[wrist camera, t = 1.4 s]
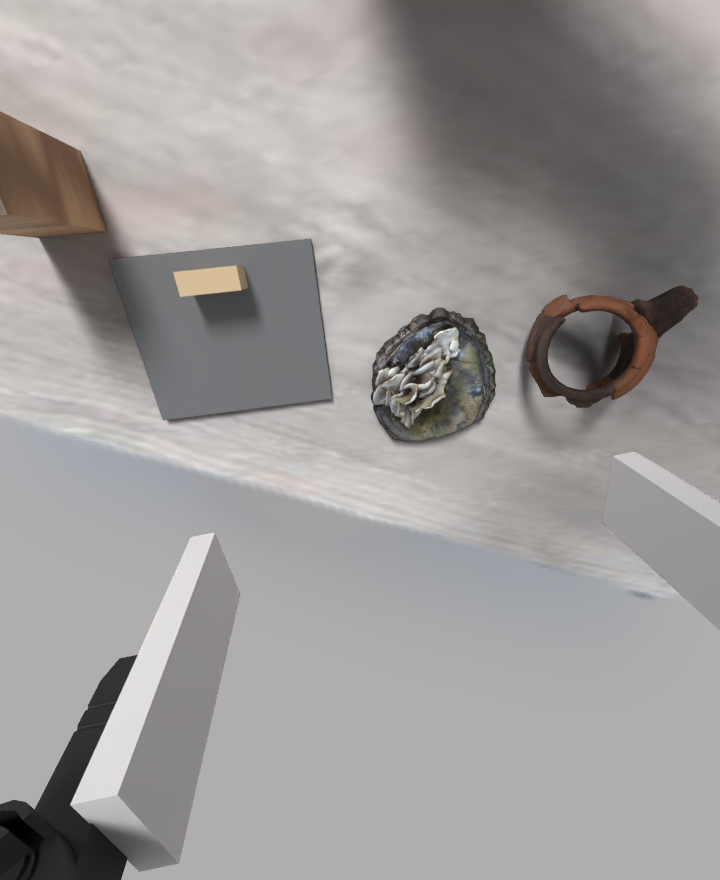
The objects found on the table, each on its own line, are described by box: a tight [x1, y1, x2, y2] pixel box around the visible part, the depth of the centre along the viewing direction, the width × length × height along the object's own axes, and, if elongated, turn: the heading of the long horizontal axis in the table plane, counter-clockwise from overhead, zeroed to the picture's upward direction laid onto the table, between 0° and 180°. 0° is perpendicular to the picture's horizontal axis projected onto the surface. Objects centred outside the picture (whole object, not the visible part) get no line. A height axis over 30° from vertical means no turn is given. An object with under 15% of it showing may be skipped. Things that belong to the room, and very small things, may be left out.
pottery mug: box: [527, 286, 698, 408], centre depth 31 cm, size 12×10×8 cm
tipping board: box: [108, 239, 332, 420], centre depth 28 cm, size 12×14×4 cm
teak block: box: [0, 112, 107, 238], centre depth 21 cm, size 4×4×10 cm
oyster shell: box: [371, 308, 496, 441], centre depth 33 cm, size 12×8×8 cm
